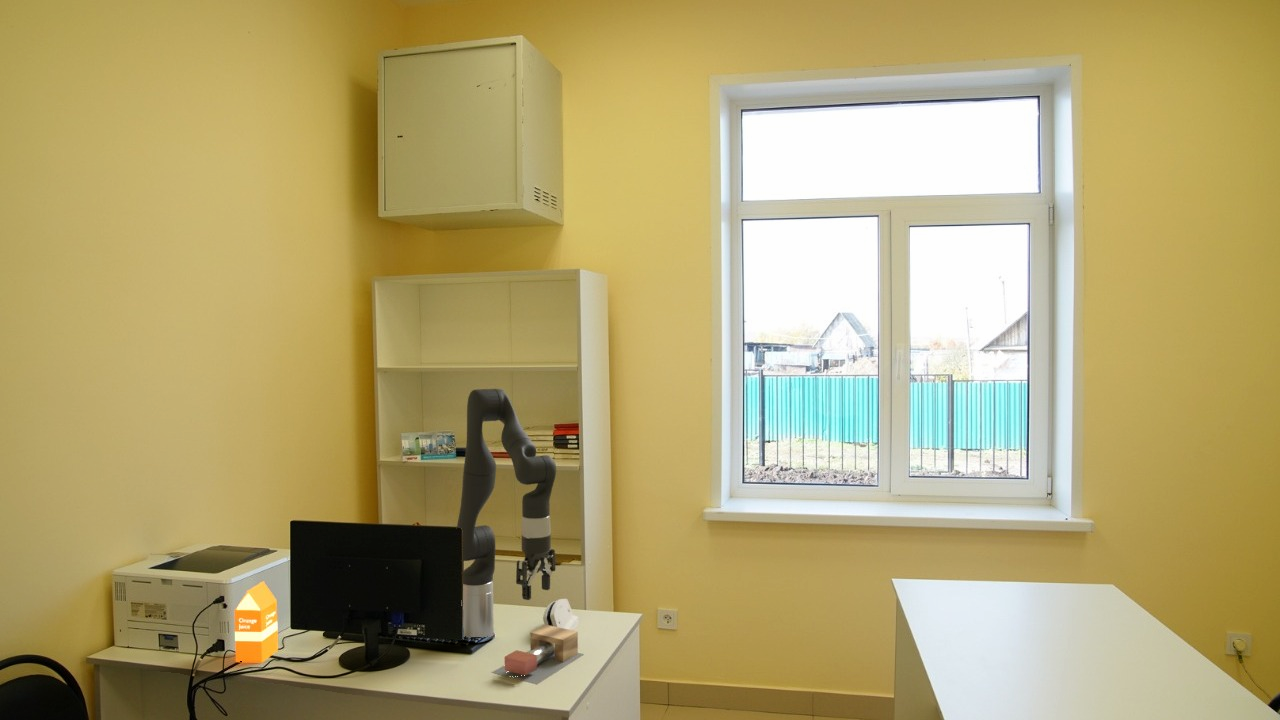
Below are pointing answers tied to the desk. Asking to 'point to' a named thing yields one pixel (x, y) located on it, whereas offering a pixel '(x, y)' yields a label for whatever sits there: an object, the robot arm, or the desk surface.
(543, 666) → the mat
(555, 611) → the white rounded piece
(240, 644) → the orange juice
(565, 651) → the wooden block
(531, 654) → the pin
